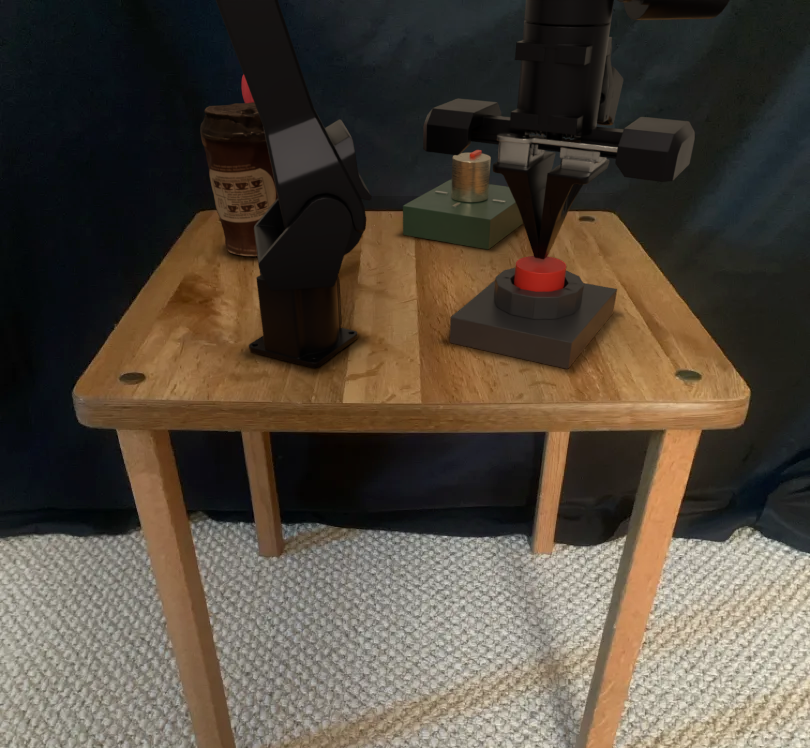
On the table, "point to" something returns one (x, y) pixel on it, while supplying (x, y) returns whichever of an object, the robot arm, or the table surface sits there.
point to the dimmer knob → (470, 177)
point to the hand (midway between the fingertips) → (541, 257)
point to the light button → (540, 274)
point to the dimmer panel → (462, 217)
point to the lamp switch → (534, 319)
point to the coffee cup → (238, 171)
